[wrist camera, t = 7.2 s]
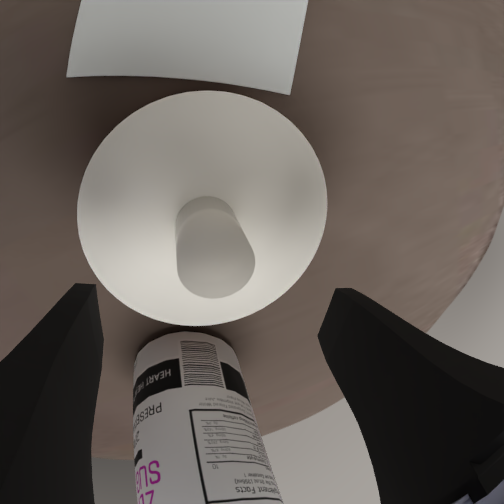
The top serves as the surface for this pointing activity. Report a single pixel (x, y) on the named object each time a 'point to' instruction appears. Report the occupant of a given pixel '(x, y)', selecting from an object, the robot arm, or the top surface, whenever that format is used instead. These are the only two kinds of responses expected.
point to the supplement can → (196, 426)
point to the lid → (202, 208)
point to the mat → (190, 40)
